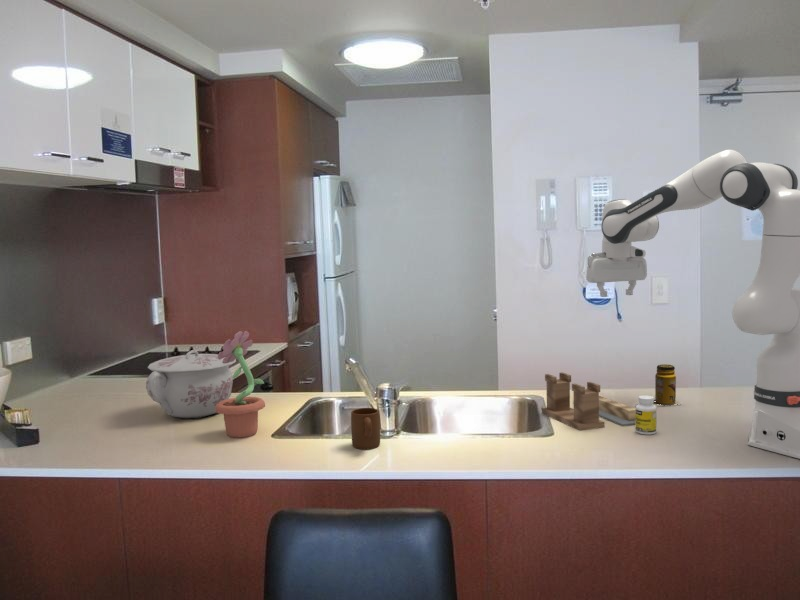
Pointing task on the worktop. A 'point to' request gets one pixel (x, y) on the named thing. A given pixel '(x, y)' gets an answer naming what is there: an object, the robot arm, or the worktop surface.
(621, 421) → the mat
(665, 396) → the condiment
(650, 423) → the supplement bottle
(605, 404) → the rail
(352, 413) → the mug
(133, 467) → the worktop surface
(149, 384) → the chamber pot
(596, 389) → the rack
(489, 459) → the worktop surface
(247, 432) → the decorative flower
